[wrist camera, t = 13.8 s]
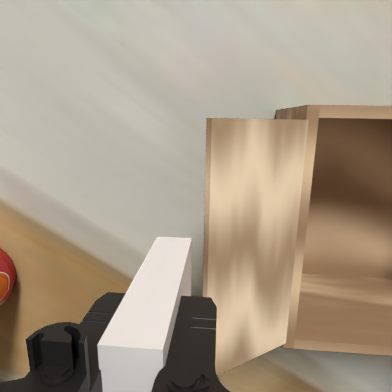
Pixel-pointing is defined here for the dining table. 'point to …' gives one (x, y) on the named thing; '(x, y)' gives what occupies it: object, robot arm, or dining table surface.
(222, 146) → the flap
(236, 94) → the dining table surface
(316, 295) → the carton
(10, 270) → the smoothie
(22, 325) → the dining table surface
